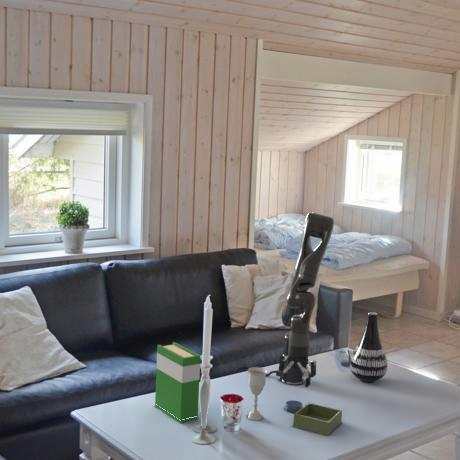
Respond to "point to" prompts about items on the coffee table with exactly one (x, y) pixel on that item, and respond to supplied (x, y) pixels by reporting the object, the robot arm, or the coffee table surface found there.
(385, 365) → the vase
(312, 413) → the tub
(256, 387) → the chalice
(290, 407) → the blue round puck
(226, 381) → the coffee table surface
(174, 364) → the hardback book
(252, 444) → the coffee table surface
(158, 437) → the coffee table surface
